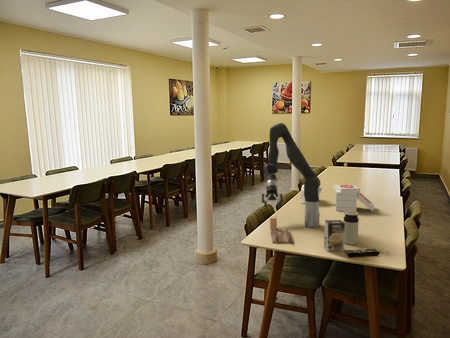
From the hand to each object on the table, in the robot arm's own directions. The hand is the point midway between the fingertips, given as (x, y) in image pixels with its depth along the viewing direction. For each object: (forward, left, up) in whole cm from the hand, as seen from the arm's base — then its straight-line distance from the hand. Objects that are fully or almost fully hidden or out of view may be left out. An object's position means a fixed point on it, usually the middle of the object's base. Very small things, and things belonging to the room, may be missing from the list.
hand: (272, 207), depth 234 cm
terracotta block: (0, +9, -12) cm, 15 cm away
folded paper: (-37, -65, -13) cm, 76 cm away
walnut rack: (-4, +25, -12) cm, 28 cm away
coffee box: (-31, +43, -13) cm, 54 cm away
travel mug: (-43, +32, -13) cm, 55 cm away
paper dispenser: (-65, -40, -13) cm, 78 cm away
